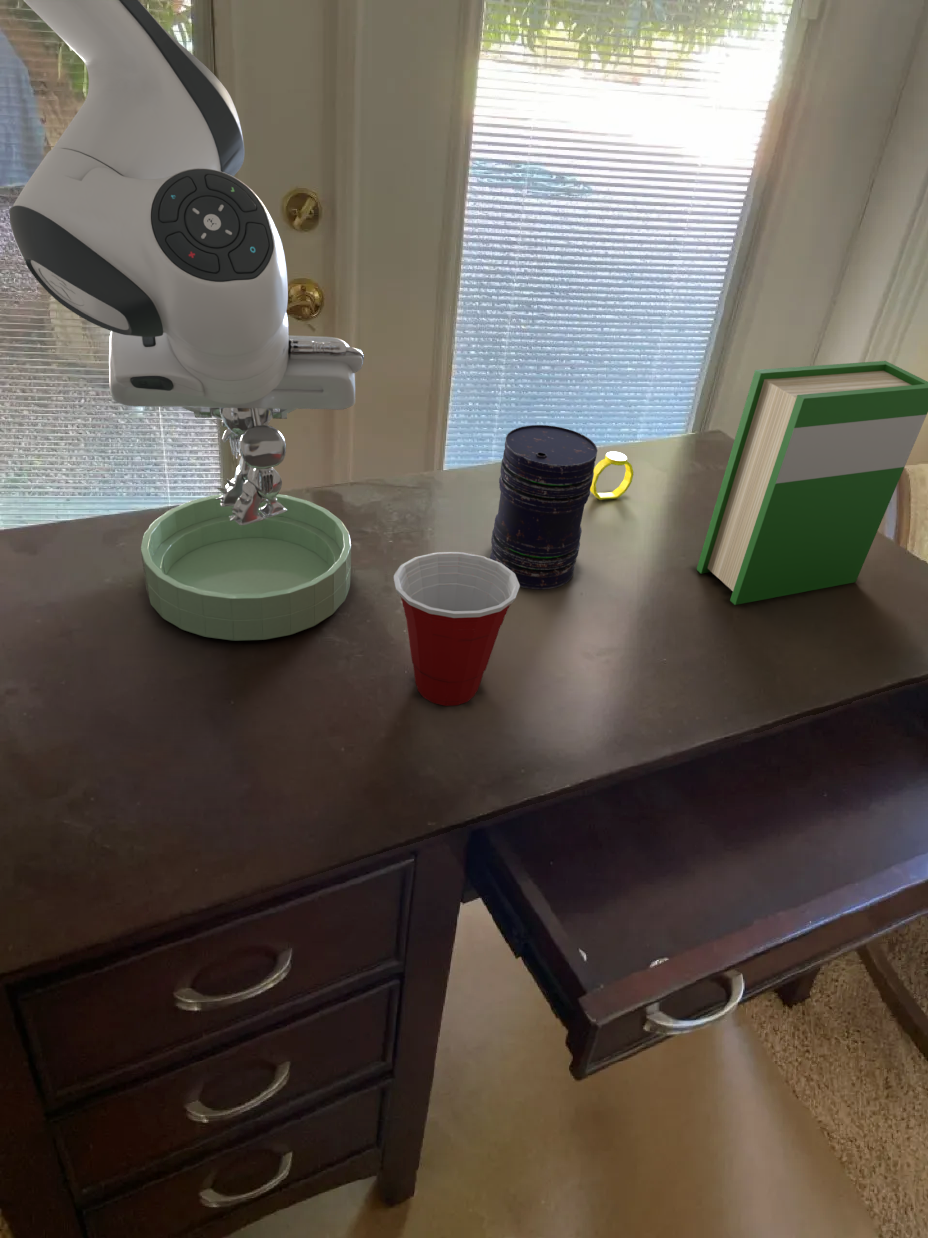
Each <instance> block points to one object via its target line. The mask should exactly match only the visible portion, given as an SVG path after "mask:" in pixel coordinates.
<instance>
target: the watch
mask: <svg viewBox="0 0 928 1238" xmlns="http://www.w3.org/2000/svg"><path fill="white" fill-rule="evenodd" d="M611 465H613V466H624V467H625V472H624V477H623V479H622V481H621V482H620V484H619V486H617V488H615V489H613V491H610V492H598V489H597V482H598V480H599V477H600V475H601V474H602V473H603V472H604V470H605V469H606V468H608V467H609V466H611ZM634 473H635V472H634V469H633V465H632V463H630V461H628V457H627V455H625V454H624V453H622V452H619V451H608V452H606V454H605V456H604V458H603V459H601V460H599V461H598V463H597V464H595V466H594V476H593V481H592V486H591V487H590V493H591V494H592V495H593V496H594V497H595V498H596V499H597V500H599V501H602V500H613V499H614V500H615V499H619V498H620V497H622V496H623V495H624V494H625V493H627V491H628V489H629V488H630V486H631V485H632V483H633V478H634Z"/></svg>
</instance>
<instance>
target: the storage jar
mask: <svg viewBox="0 0 928 1238" xmlns="http://www.w3.org/2000/svg"><path fill="white" fill-rule="evenodd" d="M597 456H598V447H597V445H596V443H595V442H593V440H592V439H590V438H589V437H587V436H586V435H584V434H582V433H580V432H577V431H575V430H573V429H570V428H566V427H561V426H555V425H549V424H548V425H547V424H532V425H531V424H530V425H524V426H519V427H516V428H514V429H512V430H510V431H509V432H508V433H507V434H506V436H505V440H504V450H503V454H502V459H501V463H500V476H499V479H498V483H499V484H498V485H499V487H498V489H499V491H500V495H499V501H498V510H497V514H496V515H495V517H494V523H493V528H492V532H491V539H490V541H491V542H490V543H491V544H490V545H491V547H490V548H491V549H490V555H489V559H492V560H494V561H497V562H500V563H502V564H503V565H504V566H506V567H507V568H508V569H510V570H511V571H512V572H513V573H515V575H516V577H517V580H518V582H519V584H520V587H519V588H525V589H530V590H551V589H556V588H559V587H561V586H563V585H566V584H567V583H569V581H570V580H571V579H572V578H573V576H574V572H575V564H576V563H577V562H576V561H577V558H578V556H579V552H580V546H581V538H582V531H583V530H582V520H583V515H584V510H585V506H586V504H587V503H588V501H589V497H590V496H591V491H590V487H591V486H592V481H593V476H594V467H595V466H596V463H595V462H596V460H597Z"/></svg>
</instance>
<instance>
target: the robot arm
mask: <svg viewBox="0 0 928 1238" xmlns="http://www.w3.org/2000/svg"><path fill="white" fill-rule="evenodd" d="M22 1H23V2H24V3H25V4H26V5H27V6H28V7H29V8H30V9H31V10H32V11H33V12H34V13H35V14H36V15H37V16H38V17H39V18H40V19H41V20H42V21H43V22H44V23H45V24H46V25H47V26H48V27H49V28H50V29H51V30H52V31H53V32H54V33H55V34H56V35H57V36H58V37H59V38H60V39H61V40H62V41H63V42H64V43H65V44H66V45H67V46H68V47H69V48H70V49H71V50H72V51H73V52H74V53H75V54H76V55H77V56H78V57H79V58H80V59H81V61H83V63H84V65H85V68H86V71H87V75H88V76H87V77H88V87H87V95H86V98H85V100H84V101H83V103H82V105H81V106H80V108H79V109H78V111H77V112H76V114H75V115H74V116H73V118H72V120H71V121H70V122H69V124H68V126H67V127H66V128H65V130H64V131H63V132H62V134H61V135H60V136H59V139H58V140H57V141H56V143H55V144H54V145H53V147H52V148H51V150H48V152H47V153H46V155H45V156H44V157H43V159H42V160H41V162H40V163H39V165H38V166H37V168H35V170H34V172H33V174H32V175H31V176H30V178H29V179H28V180H27V182H26V183H25V185H24V187H23V188H22V190H21V192H20V193H19V195H18V196H17V198H16V199H15V200H14V201H15V202H14V203H13V205H12V206H11V207H10V209H9V213H8V214H9V224H10V229H11V232H12V236H13V239H14V241H15V242H14V243H15V244H16V246H17V248H18V251H19V253H20V255H21V257H22V259H23V261H24V264H25V265H26V267H27V268H28V270H29V271H30V274H31V275H32V276H33V277H34V278H35V279H36V281H37V282H38V283H39V284H40V285H41V287H42V288H43V289H44V290H45V291H46V292H47V293H48V294H49V295H50V296H51V297H53V299H54V300H56V301H57V302H58V303H59V304H61V305H62V306H63V307H64V308H66V309H68V310H69V311H70V312H72V313H74V314H75V315H77V316H79V317H80V318H82V319H83V320H85V321H87V322H89V323H91V324H94V326H97V327H100V328H102V329H105V330H107V331H110V333H109V334H110V335H109V352H108V353H109V355H108V366H109V368H108V369H109V370H108V372H109V392H110V396H111V398H112V400H113V401H114V402H115V403H116V404H119V405H122V406H126V407H149V408H150V407H151V408H152V407H153V408H154V407H155V408H156V407H157V408H182V409H185V410H187V411H189V412H191V413H193V415H194V418H197V419H211V418H213V417H212V411H211V408H270V409H273V417H272V419H271V420H273V419H274V420H275V419H277V420H287V419H288V414H290V413H291V412H294V411H296V410H328V411H329V410H330V411H331V410H334V411H336V410H337V411H343V410H346V409H347V410H348V409H349V408H351V407H353V406H355V404H356V373H358V372H359V371H360V370H361V369H362V367H363V365H364V359H365V356H364V354H363V351H362V349H361V348H359V347H357V348H355V347H352V346H350V345H349V343H347V342H346V341H344V340H343V339H341V338H338V337H332V336H317V335H316V336H315V335H314V336H313V335H289V332H290V331H289V318H288V313H287V310H288V304H289V302H288V301H289V285H288V284H289V283H288V269H287V263H286V255H285V251H284V247H283V242H282V239H281V236H280V234H279V231H278V229H277V227H276V224H275V221H274V219H273V218H272V216H271V214H270V213H269V211H268V209H267V207H266V206H265V204H264V203H263V201H262V200H261V198H260V197H259V196H258V195H257V194H256V192H255V191H253V189H252V188H250V187H249V186H248V184H246V183H244V182H243V180H240V179H239V178H237V177H235V176H236V175H237V173H238V172H239V171H240V169H241V168H242V166H243V164H244V161H245V143H244V137H243V130H242V126H241V122H240V118H239V114H238V112H237V109H236V106H235V104H234V103H235V102H234V101H233V99H232V97H231V95H230V93H229V91H228V90H227V88H226V87H225V86H224V85H223V83H222V82H221V80H220V79H219V78H218V77H217V76H216V75H215V74H214V73H213V72H212V71H211V70H210V69H209V68H208V67H207V66H206V65H205V64H204V63H203V62H202V61H200V60H199V59H198V58H197V57H196V56H195V55H194V54H193V53H192V52H191V51H189V49H187V48H186V47H185V46H184V45H182V44H181V43H180V42H179V41H178V40H177V39H175V38H174V37H173V35H172V34H170V33H169V31H167V30H166V29H165V28H164V27H163V26H162V24H161V23H159V22H158V20H157V18H155V17H154V16H153V14H152V13H151V12H150V11H149V10H148V9H147V7H145V6H144V4H143V3H142V2H141V1H140V0H22Z"/></svg>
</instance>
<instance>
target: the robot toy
mask: <svg viewBox="0 0 928 1238" xmlns="http://www.w3.org/2000/svg"><path fill="white" fill-rule="evenodd" d="M211 411H212V418H215V419H217V420H222V421H221V426H222V428H227V429H226V430H225V431H224V433H223V435H222V438H221V440H222V442H223V443H224V444H225V443H226V442H227V441H228V440H229V447H230V452H231V454H232V455H233V456H234V458H235V459H239V457H240V459H239V461H238V462H239V463H238V465H237V467H236V468H235V472H234V477H233V478H232V479H231V480H230V479H229V478H228V477H227V478H226V479H225V480H226V483H227V484H226V485H225V486H224V488H223V487H217V488H216V489H217V490H218V491H219V492H221V494H223V496H222V497H219V498H216V499H215V500H221V507H230V506H234V507H233V508H231V509H232V510H233V511H232V515H231V516H229V518H230V520H229V521H233V520H234V521H235V522H237V523H238V524H239V525H241V526H243V525H248V524H251V523H255V522H258V521H262V520H264V519H266V518H270V517H273V516H276V515H278V514H281V513H284V512H286V511H287V509H286V508H285V507H284V506H283V505H282V504H281V503H279V502H277V501H276V500H277V498H276V496H277V494H280V492H281V489H282V485H283V480H282V477H281V475H280V473H279V472H278V471H277V470H276V469H275V468H274V467H277V466H279V465H280V464H282V462H283V461H284V460H285V458H286V453H287V442H286V439H285V437H284V435H283V434H282V433H281V431H280V430H278V428H276V427H274V426H272V425H270V423H271V421H272V420H273V419H272V417H273V409H270V408H211ZM260 503H266V505H265V506H263V507H261V508H260V509H259V511H260V512H261V513H262V514H264V515H265V516H266V517H265V516H264V515H262V514H261V513H259V512H258V508H259V505H260Z"/></svg>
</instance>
